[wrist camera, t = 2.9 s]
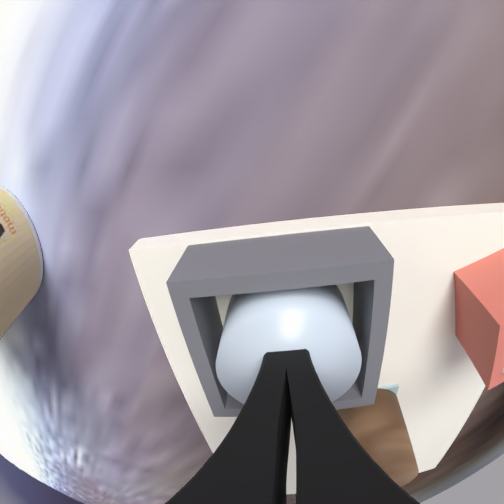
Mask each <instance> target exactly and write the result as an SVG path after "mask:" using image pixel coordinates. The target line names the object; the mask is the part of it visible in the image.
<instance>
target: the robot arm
mask: <svg viewBox="0 0 504 504" xmlns="http://www.w3.org/2000/svg"><path fill="white" fill-rule="evenodd" d="M291 418H292V424H293V432H294V439H295V447H296V504H420V503H419V502H417V501H416V500H415V499H414V498H412V497H411V496H410V495H409V494H408V493H406V492H405V491H404V490H403V489H402V488H401V487H400V486H399V485H398V484H397V483H395V482H394V481H393V480H392V479H391V478H390V477H389V476H388V475H387V474H386V473H385V472H384V471H383V469H382V468H381V467H380V466H379V465H378V464H377V463H376V462H375V461H374V460H373V459H372V458H371V457H370V455H369V454H368V453H367V452H366V451H365V450H364V448H363V447H362V446H361V445H360V443H359V442H358V441H357V439H356V438H355V437H354V436H353V434H352V433H351V431H350V430H349V429H348V427H347V426H346V424H345V423H344V421H343V420H342V418H341V417H340V415H339V414H338V412H337V411H336V409H335V407H334V406H333V404H332V402H331V400H330V399H329V397H328V395H327V393H326V391H325V389H324V388H323V386H322V384H321V382H320V379H319V377H318V375H317V373H316V371H315V368H314V366H313V363H312V360H311V357H310V353H309V351H308V350H307V349H299V350H288V351H276V352H267V353H266V354H264V356H263V360H262V364H261V367H260V370H259V373H258V375H257V378H256V380H255V383H254V385H253V387H252V389H251V392H250V394H249V396H248V398H247V400H246V402H245V404H244V406H243V408H242V410H241V411H240V413H239V415H238V417H237V418H236V420H235V422H234V424H233V425H232V427H231V429H230V430H229V432H228V433H227V435H226V436H225V438H224V439H223V441H222V442H221V444H220V445H219V446H218V448H217V449H216V450H215V452H214V453H213V454H212V456H211V457H210V458H209V459H208V461H207V462H206V463H205V464H204V465H203V467H202V468H201V469H200V470H199V471H198V472H197V473H196V475H195V476H194V477H193V478H192V479H191V480H190V481H189V482H188V483H187V484H186V485H185V486H184V487H183V488H182V489H181V490H180V491H179V492H177V493H176V494H175V495H174V496H173V497H172V498H171V499H170V500H169V501H168V502H166V503H165V504H286V480H287V466H288V455H289V444H290V432H291Z"/></svg>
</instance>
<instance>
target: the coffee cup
mask: <svg viewBox="0 0 504 504" xmlns="http://www.w3.org/2000/svg"><path fill="white" fill-rule="evenodd" d="M42 278H43V256H42V251H41V246H40V242H39V239H38V236H37V233H36V230H35V228H34V225H33V223H32V221H31V219H30V217H29V215H28V213H27V211H26V210H25V208H24V207H23V205H22V204H21V202H20V201H19V200H18V199H17V198H16V197H15V196H14V194H12V193H11V192H10V191H9V190H8V189H6V188H5V187H3V186H1V185H0V339H1V338H2V336H3V335H4V334H5V332H6V331H7V330H8V329H9V327H10V326H11V325H12V323H13V322H14V321H15V320H16V318H17V317H18V316H19V315H20V313H21V312H22V311H23V310H24V309H25V307H26V306H27V305H28V304H29V302H30V301H31V300H32V298H33V297H34V296H35V295H36V293H37V292H38V290H39V288H40V285H41V282H42Z"/></svg>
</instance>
